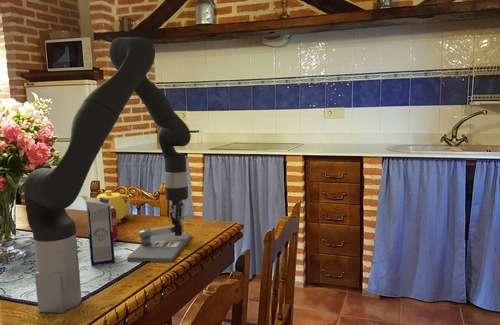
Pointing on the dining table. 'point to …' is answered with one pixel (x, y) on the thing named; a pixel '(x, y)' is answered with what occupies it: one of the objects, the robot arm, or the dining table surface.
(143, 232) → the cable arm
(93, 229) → the milk carton
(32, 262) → the dining table surface
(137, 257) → the panel
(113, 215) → the beverage can
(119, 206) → the teapot
